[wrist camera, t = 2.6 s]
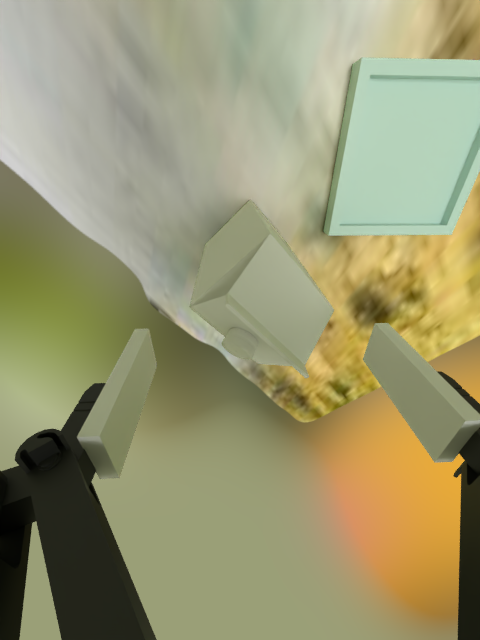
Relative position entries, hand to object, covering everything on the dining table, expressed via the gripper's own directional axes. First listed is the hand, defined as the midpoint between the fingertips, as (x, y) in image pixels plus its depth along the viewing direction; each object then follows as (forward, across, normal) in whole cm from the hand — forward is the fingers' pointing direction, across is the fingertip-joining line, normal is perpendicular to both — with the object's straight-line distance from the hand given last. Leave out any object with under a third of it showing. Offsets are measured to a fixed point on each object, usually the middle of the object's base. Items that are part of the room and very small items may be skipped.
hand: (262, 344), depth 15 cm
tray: (+18, +16, +9) cm, 26 cm away
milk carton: (+18, 0, +1) cm, 18 cm away
